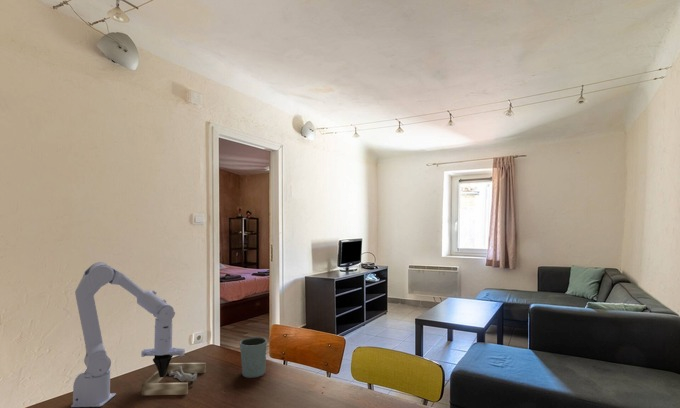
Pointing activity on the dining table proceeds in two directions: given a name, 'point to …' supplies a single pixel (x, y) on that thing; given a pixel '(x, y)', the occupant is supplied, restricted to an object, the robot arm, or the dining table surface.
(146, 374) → the dining table surface
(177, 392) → the beech frame
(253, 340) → the green cup
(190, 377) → the soldier figure
